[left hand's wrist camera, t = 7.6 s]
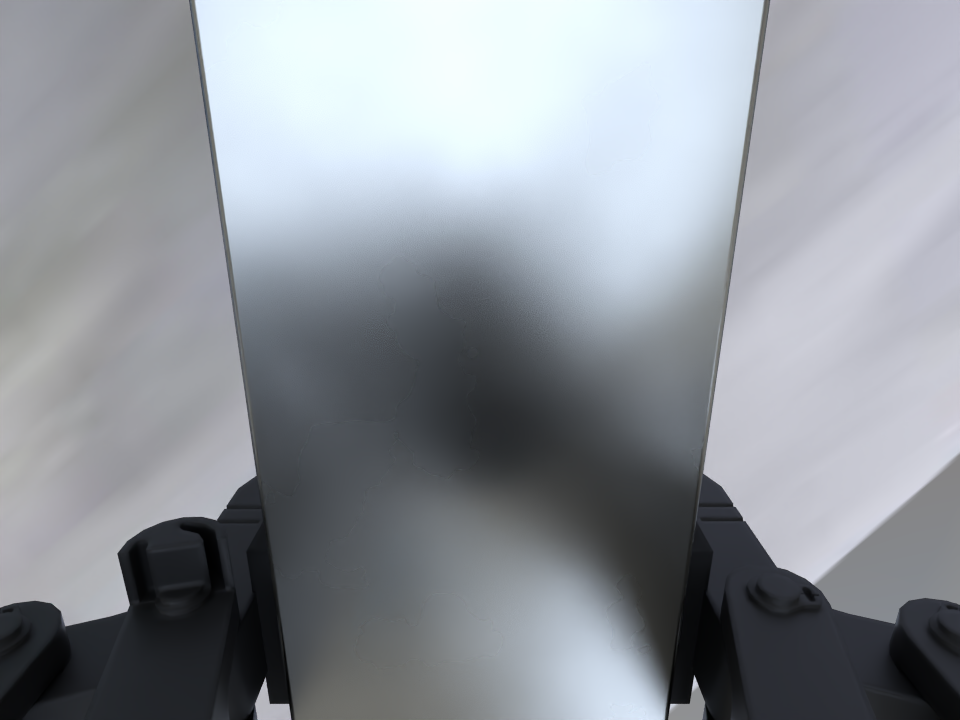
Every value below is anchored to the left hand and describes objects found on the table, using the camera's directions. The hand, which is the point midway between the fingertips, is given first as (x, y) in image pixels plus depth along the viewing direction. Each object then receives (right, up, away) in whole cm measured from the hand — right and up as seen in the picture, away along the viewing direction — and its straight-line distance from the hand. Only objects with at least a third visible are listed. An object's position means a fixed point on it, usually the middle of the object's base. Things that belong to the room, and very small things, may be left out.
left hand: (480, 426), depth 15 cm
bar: (0, +14, -4) cm, 14 cm away
